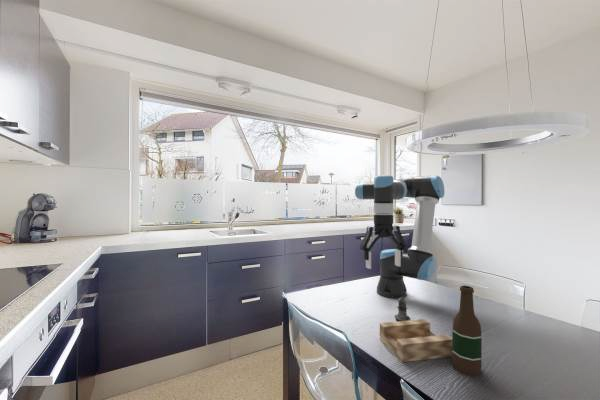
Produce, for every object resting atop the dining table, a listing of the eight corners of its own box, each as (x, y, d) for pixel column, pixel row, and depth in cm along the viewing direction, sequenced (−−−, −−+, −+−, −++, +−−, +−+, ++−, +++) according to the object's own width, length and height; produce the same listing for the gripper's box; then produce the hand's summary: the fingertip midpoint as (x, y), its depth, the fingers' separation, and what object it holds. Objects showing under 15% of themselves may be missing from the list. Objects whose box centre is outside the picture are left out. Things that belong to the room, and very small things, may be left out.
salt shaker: (391, 324, 106) (391, 294, 106) (402, 321, 108) (402, 292, 108) (401, 331, 100) (402, 299, 100) (413, 328, 102) (414, 297, 102)
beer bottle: (487, 370, 78) (487, 288, 78) (475, 380, 73) (475, 293, 73) (458, 357, 84) (458, 281, 84) (446, 365, 79) (446, 285, 79)
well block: (424, 333, 98) (424, 319, 98) (454, 356, 84) (454, 339, 84) (379, 338, 95) (379, 322, 95) (402, 362, 81) (402, 344, 81)
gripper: (403, 213, 114) (403, 262, 114) (351, 214, 107) (350, 266, 107) (415, 214, 107) (415, 266, 107) (360, 215, 99) (360, 271, 99)
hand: (383, 266), depth 107 cm, fingers open, 13 cm apart
